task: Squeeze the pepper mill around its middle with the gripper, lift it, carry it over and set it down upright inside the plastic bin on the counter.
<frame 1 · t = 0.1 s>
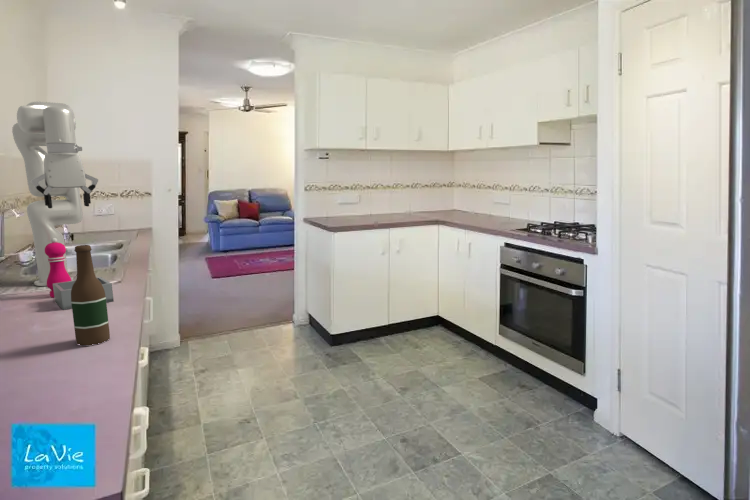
hand: (68, 207, 145), 31 cm above the counter, tool pointing down, fingers open, 9 cm apart
pepper mill: (61, 296, 164), on the counter
bin: (84, 301, 155), on the counter
beer bottle: (93, 341, 118), on the counter
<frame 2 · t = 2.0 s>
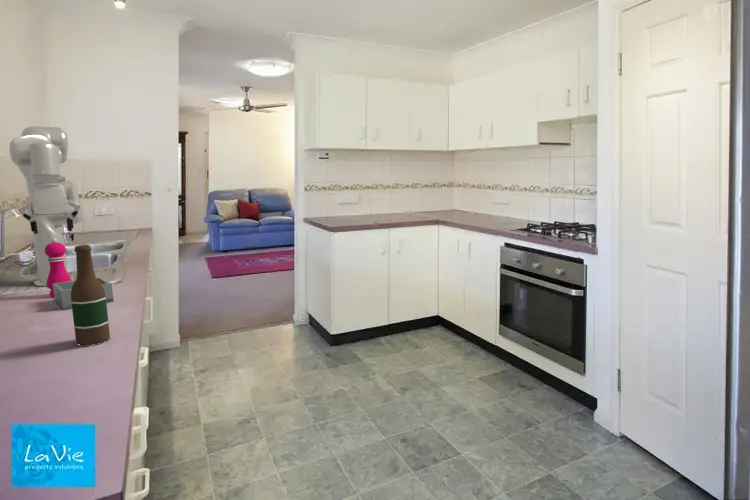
hand: (53, 232, 160), 22 cm above the counter, tool pointing down, fingers open, 9 cm apart
nothing on the counter moved.
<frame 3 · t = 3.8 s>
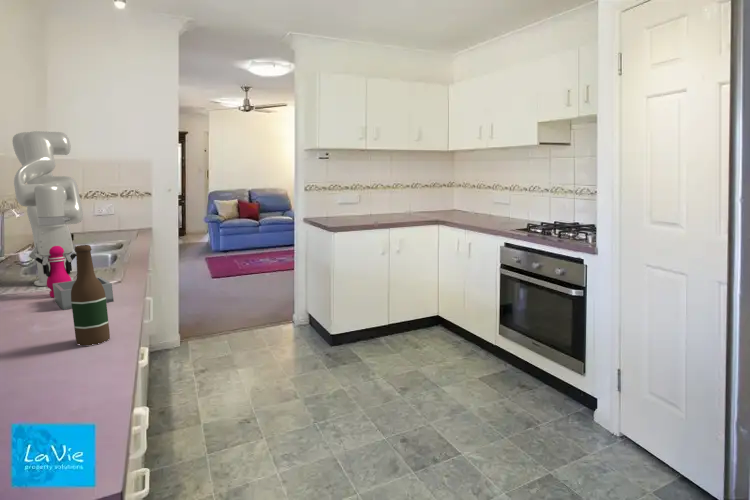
hand: (58, 274, 162), 7 cm above the counter, tool pointing down, fingers closed on pepper mill, 5 cm apart
pepper mill: (61, 296, 164), on the counter, touching gripper
everything else where it was.
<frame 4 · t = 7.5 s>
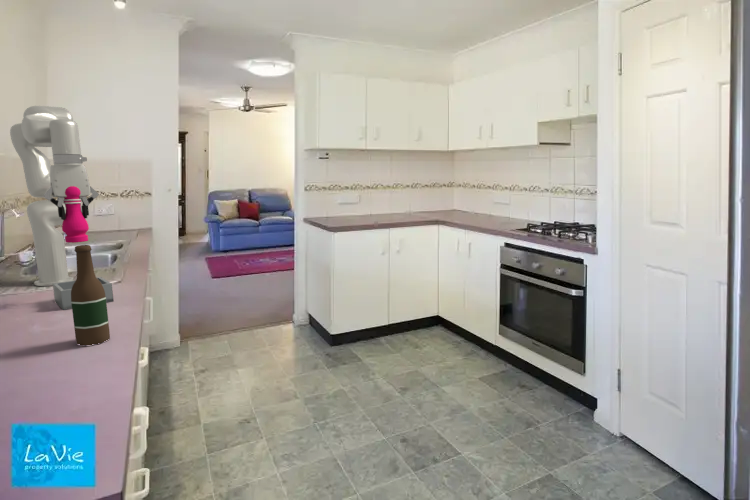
hand: (74, 218, 151), 27 cm above the counter, tool pointing down, fingers closed on pepper mill, 5 cm apart
pepper mill: (77, 241, 152), point 20 cm above the counter, touching gripper
everything else where it was.
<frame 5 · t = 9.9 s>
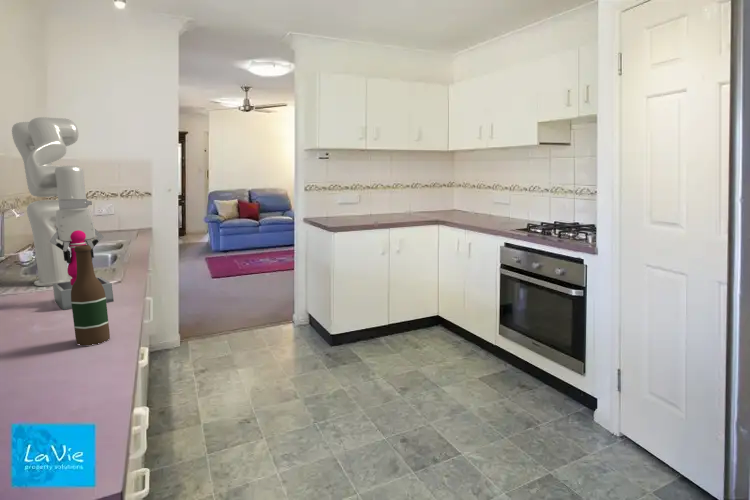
hand: (79, 261, 153), 13 cm above the counter, tool pointing down, fingers closed on pepper mill, 5 cm apart
pepper mill: (82, 284, 154), point 6 cm above the counter, touching gripper
everything else where it was.
when the fingers open (10 cm above the counter, at t = 11.1 s): pepper mill drops 2 cm, resting on bin.
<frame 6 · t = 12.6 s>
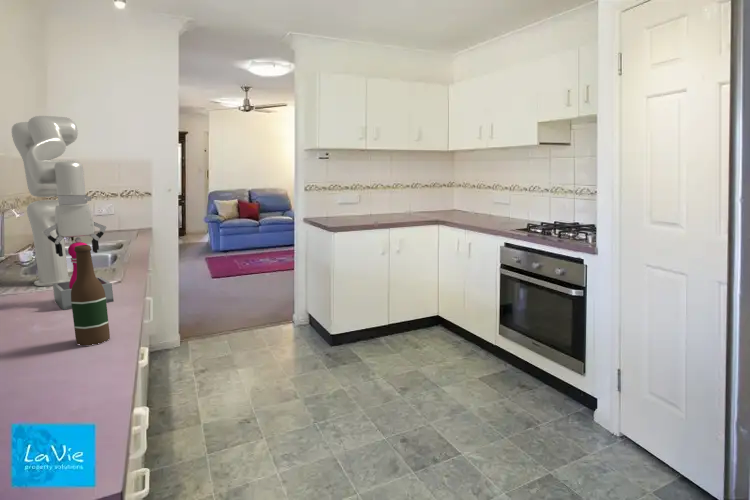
hand: (78, 254, 153), 16 cm above the counter, tool pointing down, fingers open, 9 cm apart
pepper mill: (83, 298, 155), point 1 cm above the counter, touching bin
everything else where it was.
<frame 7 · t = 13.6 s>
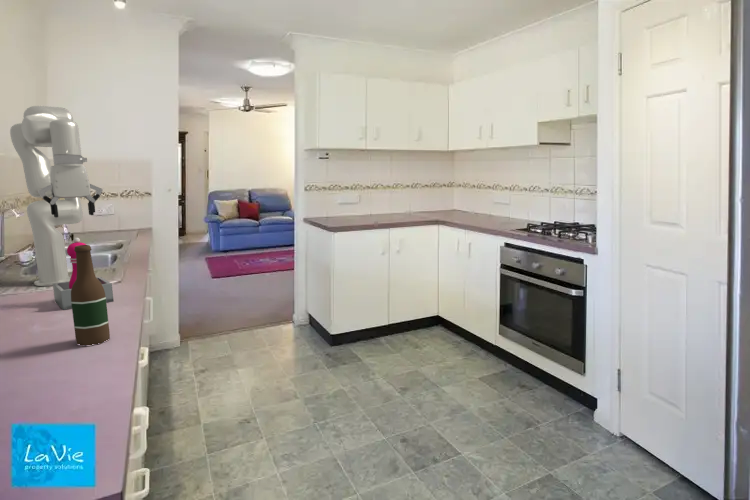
hand: (74, 216, 151), 28 cm above the counter, tool pointing down, fingers open, 9 cm apart
nothing on the counter moved.
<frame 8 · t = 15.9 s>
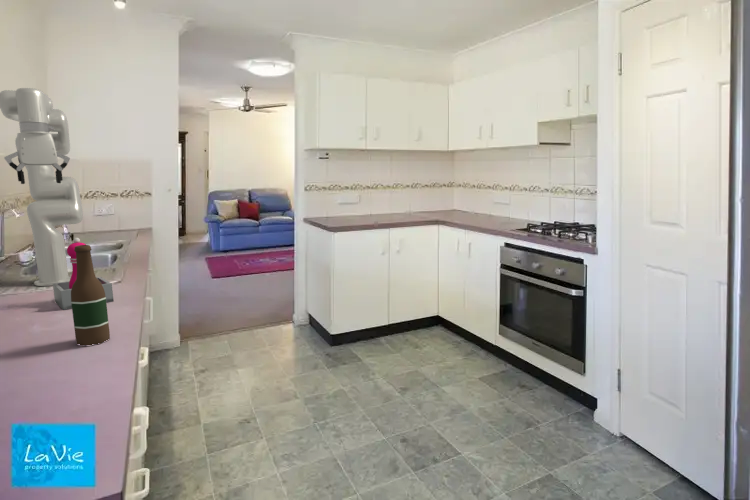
hand: (41, 183, 154), 38 cm above the counter, tool pointing down, fingers open, 9 cm apart
nothing on the counter moved.
at the end: pepper mill inside the target area on the bin (0.2 cm from its centre), point 0.8 cm above the bin's base; pepper mill tilted 0°; the gripper is holding nothing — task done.
